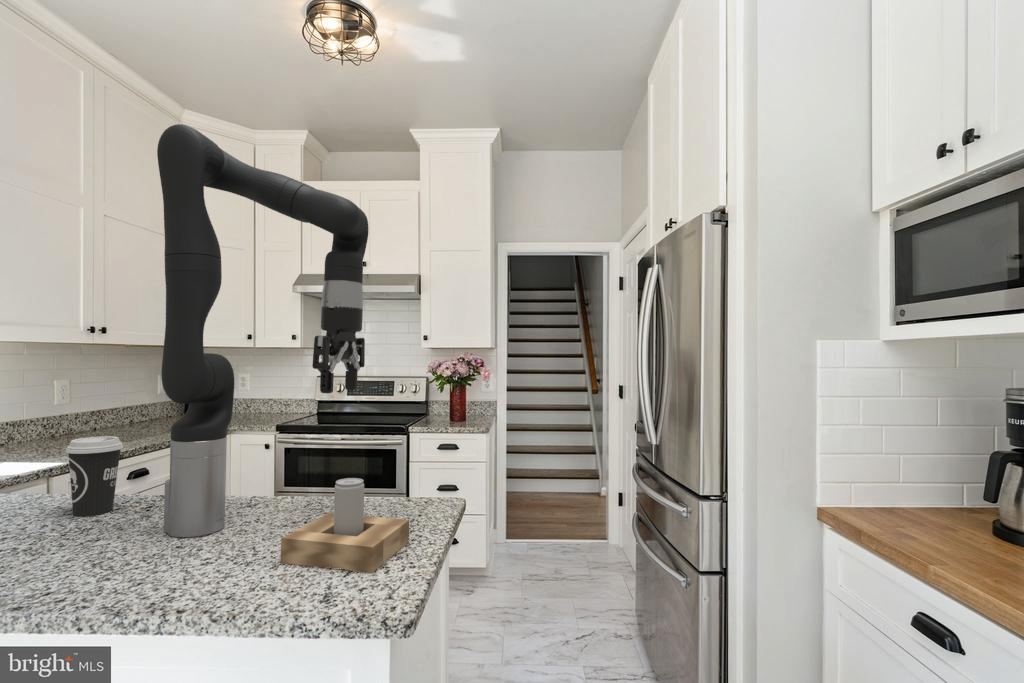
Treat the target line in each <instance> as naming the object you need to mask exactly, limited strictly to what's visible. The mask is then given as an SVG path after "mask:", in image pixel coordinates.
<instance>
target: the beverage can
mask: <svg viewBox="0 0 1024 683" xmlns="http://www.w3.org/2000/svg"><path fill="white" fill-rule="evenodd" d="M333 500H334V503H333V505H334V507H333V513H334V534H336V535H347V536H358V535H360V534H361V533H363V526H364V516H365V515H364V514H365V513H364V512H365V511H364V510H365V508H364V507H365V483H364V479H362V478H358V477H346V478H341V479H337V480H336V481H335V485H334V499H333Z"/></svg>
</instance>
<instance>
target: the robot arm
mask: <svg viewBox="0 0 1024 683" xmlns="http://www.w3.org/2000/svg"><path fill="white" fill-rule="evenodd" d="M156 152H157V154H156V156H157V163H158V164H157V165H158V171H159V178H160V179H159V180H160V185H161V192H162V201H163V203H162V204H163V221H164V222H163V226H164V227H163V230H164V278H165V280H164V281H165V330H164V341H163V349H162V350H163V351H162V361H161V374H160V375H161V384H162V388H163V390H164V393H165V395H166V396H167V397H168V398H169V400H171V401H172V402H173V403H176V404H183V405H184V404H185V405H188V407H187V411H186V412H185V413H184V415H183V416H182V417H181V418H179V419H178V420H176V421H175V422H174V423H173V424H172V425H171V428H170V442H169V443H170V448H169V450H170V451H169V453H170V454H169V479H166V480H165V482H164V498H163V499H164V500H163V502H164V503H163V533H168V535H169V536H171V537H175V538H176V537H177V538H190V537H191V538H192V537H193V538H194V537H200V536H205V535H209V534H213V533H216V532H218V531H220V530H222V529H223V528H225V525H226V524H225V523H226V522H225V521H226V487H227V486H226V484H227V481H226V480H227V450H228V449H227V444H228V443H227V442H228V441H227V440H228V439H227V438H228V437H227V435H228V428H229V425H230V423H231V421H232V418H233V408H234V397H235V396H234V395H235V373H234V368H233V366H232V364H231V362H230V360H228V358H227V357H225V356H224V355H222V354H219V353H213V352H212V353H208V352H205V350H204V331H205V330H204V329H205V325H206V322H207V318H208V316H209V314H210V312H211V309H212V307H213V306H214V304H215V302H216V299H217V297H218V295H219V293H220V290H221V286H222V280H223V279H222V278H223V276H222V254H221V253H222V252H221V247H220V242H219V239H218V237H217V234H216V232H215V227H214V226H213V224H212V221H211V218H210V215H209V211H208V210H207V206H206V201H205V191H204V190H205V187H206V188H209V189H215V190H219V191H224V192H227V193H231V194H233V195H237V196H241V197H243V198H246V199H248V200H250V201H253V202H255V203H257V204H259V205H261V206H264V207H265V208H268V209H270V210H272V211H275V212H276V213H279V214H281V215H282V216H283V215H284V216H286V217H288V218H290V219H293V220H295V221H298V222H301V223H306V224H311V225H313V226H315V227H318V228H319V229H322V230H324V231H327V232H328V233H330V234H332V243H331V244H332V245H331V250H330V251H329V252H328V253H327V254H325V255H326V256H325V258H324V259H325V260H324V271H323V272H324V276H323V277H324V278H323V287H322V290H321V291H322V292H321V310H320V311H321V315H320V329H321V330H322V331H324V332H325V331H326V333H325V335H315V336H314V339H313V340H314V342H313V354H312V355H313V356H312V369H315V370H318V372H319V373H320V376H319V377H320V380H319V391H320V393H322V394H332V393H333V392H334V374H335V372H334V370H335V368H336V366H337V364H340V362H341V363H343V364H344V367H345V378H344V379H345V380H344V381H345V383H344V389H345V390H347V391H355V390H357V388H358V372H359V371H360V370H361V368H364V367H365V366H366V365H365V362H366V361H365V360H366V359H365V356H366V354H365V352H366V351H365V350H366V345H365V342H366V340H365V338H364V337H357V336H356V333H358V332H359V333H360V332H362V330H363V314H364V312H363V311H364V290H363V289H364V288H363V280H364V279H363V276H364V274H363V273H364V263H363V262H364V257H365V254H366V249H367V244H368V240H369V239H368V238H369V220H368V218H367V216H366V215H367V214H366V213H365V212H364V211H363V210H362V209H361V208H360V207H359V206H357V205H356V204H355V203H354V202H353V201H352V200H350V199H348V198H346V197H343V196H341V195H338V194H335V193H332V192H329V191H324V190H321V189H317V188H315V187H313V186H312V185H308V184H307V183H304V182H302V181H300V180H297V179H294V178H292V177H290V176H287V175H284V174H281V173H277V172H273V171H269V170H265V169H260V168H257V167H254V166H251V165H249V164H247V163H246V162H242V161H241V160H239V159H238V158H236V157H234V156H233V155H231V154H229V153H228V152H226V151H225V150H223V149H222V148H220V147H219V145H218V144H217V143H215V142H214V141H213V140H211V139H210V138H209V137H208V136H206V135H204V134H203V133H202V132H200V131H199V130H198V129H196V128H193V127H191V126H189V125H186V124H181V123H179V124H177V123H176V124H173V125H171V126H169V127H167V128H166V129H165V130H164V131H163V132H162V134H161V135H160V137H159V140H158V143H157V150H156ZM320 359H321V360H320Z"/></svg>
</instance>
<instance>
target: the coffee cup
mask: <svg viewBox="0 0 1024 683" xmlns="http://www.w3.org/2000/svg"><path fill="white" fill-rule="evenodd" d="M122 449H124V444H123V443H122V441H120V437H118V436H112V435H111V436H109V435H108V436H89V437H81V438H76V439H72V440H70V443H69V445H67V447H66V448H65V453H66V454H67V455H68V464H69V465H68V467H69V477H70V478H69V480H70V490H71V502H72V515H73V517H80V518H81V517H83V518H84V517H93V516H94V517H95V516H99V515H104V514H108V513H110V512H111V511H113V509H114V502H115V495H116V494H115V493H116V488H117V487H116V486H117V485H116V484H117V480H118V471H119V464H120V458H121V457H120V455H121V450H122Z"/></svg>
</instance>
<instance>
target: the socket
mask: <svg viewBox="0 0 1024 683" xmlns="http://www.w3.org/2000/svg"><path fill="white" fill-rule="evenodd" d="M408 543H410V519H406V518H396V517H395V518H394V517H381V516H369V515H364V526H363V533H361V534H360V535H358V536H347V535H336V534H334V512H328V513H326V514H324V515H321V516H320V517H318V518H316V519H314V520H312V521H310V522H309V523H307V524H304V525H302V526H300V527H299V528H297V529H295V530H294V531H291V532H290V533H288V534H285V535H284V536H282V537H280V564H285V563H286V564H288V565H294V564H295V566H303V565H308V566H307V567H312V566H317V567H316V568H321V567H328V568H327V569H330V568H339V569H340V568H341V569H346V570H345V571H348V570H354V571H353V572H357V571H361V572H360V573H366V572H369V573H368V574H373V573H374V572H376V571H377V570H378V569H379V568H380V567H381V566H383V565H384V564H385V563H386V562H387V561H389V560H390V559H391V558H392V557H393V556H394V555H395V553H396V552H397V551H398V552H399V551H401V549H403V548H404V547H405V546H406V545H408ZM402 547H403V548H402ZM398 552H397V553H398ZM391 556H392V557H391ZM390 557H391V558H390ZM389 558H390V559H389ZM384 562H385V563H384ZM383 563H384V564H383ZM382 564H383V565H382ZM329 567H330V568H329ZM339 569H338V570H339ZM376 569H377V570H376Z"/></svg>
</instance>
